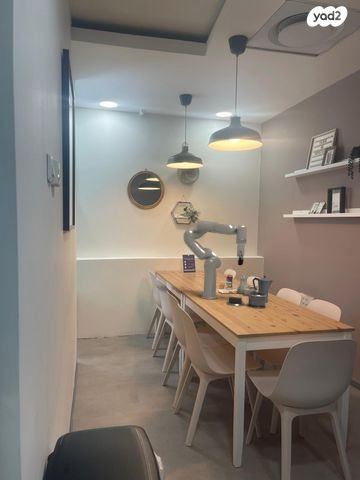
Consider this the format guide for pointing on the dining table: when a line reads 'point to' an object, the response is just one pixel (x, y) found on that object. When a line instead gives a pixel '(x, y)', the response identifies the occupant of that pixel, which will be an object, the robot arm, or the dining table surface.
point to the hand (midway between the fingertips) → (240, 264)
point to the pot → (257, 300)
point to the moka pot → (263, 285)
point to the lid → (235, 301)
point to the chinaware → (245, 286)
